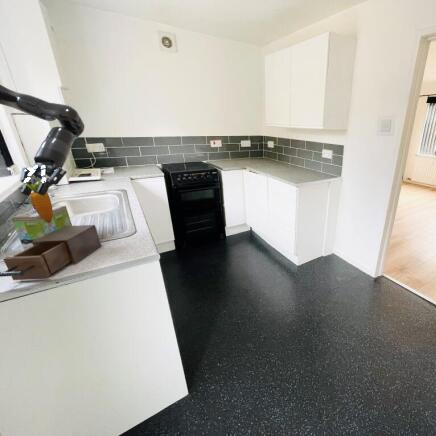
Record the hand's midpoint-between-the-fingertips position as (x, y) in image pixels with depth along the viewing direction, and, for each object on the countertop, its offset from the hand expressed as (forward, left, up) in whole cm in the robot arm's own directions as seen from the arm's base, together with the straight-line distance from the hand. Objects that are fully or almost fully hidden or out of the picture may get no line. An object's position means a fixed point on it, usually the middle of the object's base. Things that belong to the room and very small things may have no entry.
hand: (32, 194), depth 81 cm
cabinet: (-1, +5, -26) cm, 26 cm away
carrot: (-1, +2, -11) cm, 11 cm away
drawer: (+6, -7, -25) cm, 26 cm away
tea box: (-23, +7, -26) cm, 36 cm away
